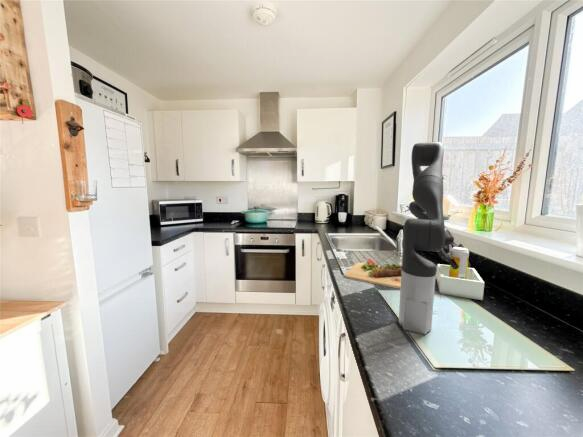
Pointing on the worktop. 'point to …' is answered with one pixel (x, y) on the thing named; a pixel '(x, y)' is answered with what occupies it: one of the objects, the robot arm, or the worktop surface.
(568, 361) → the worktop surface
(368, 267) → the cutting board
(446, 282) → the bin
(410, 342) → the worktop surface
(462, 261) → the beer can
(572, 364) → the worktop surface
